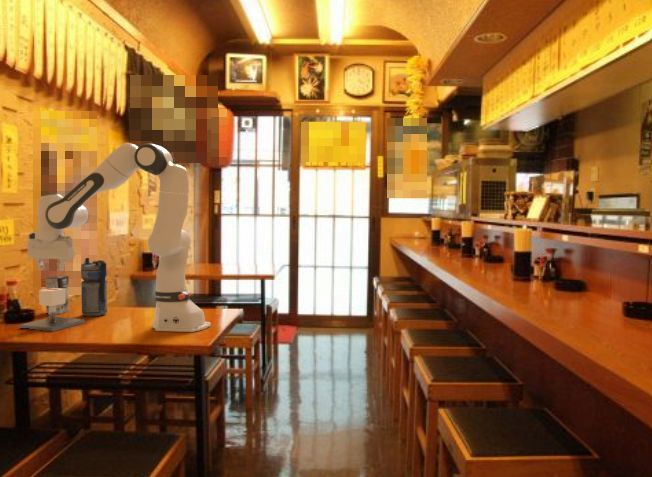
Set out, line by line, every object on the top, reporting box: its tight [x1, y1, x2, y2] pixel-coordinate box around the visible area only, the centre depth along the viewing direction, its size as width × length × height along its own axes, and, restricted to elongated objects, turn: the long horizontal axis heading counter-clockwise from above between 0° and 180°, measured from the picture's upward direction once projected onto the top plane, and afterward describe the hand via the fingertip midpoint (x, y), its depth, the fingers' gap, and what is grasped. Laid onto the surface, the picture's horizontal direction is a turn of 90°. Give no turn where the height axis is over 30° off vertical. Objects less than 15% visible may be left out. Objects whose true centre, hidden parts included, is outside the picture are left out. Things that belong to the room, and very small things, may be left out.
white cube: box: [38, 288, 65, 307], centre depth 196 cm, size 6×6×6 cm
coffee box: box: [45, 275, 70, 315], centre depth 224 cm, size 9×6×16 cm
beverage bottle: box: [80, 257, 108, 318], centre depth 217 cm, size 10×13×25 cm
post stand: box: [19, 305, 86, 333], centre depth 197 cm, size 16×16×12 cm
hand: (51, 270), depth 196 cm, fingers open, 8 cm apart
